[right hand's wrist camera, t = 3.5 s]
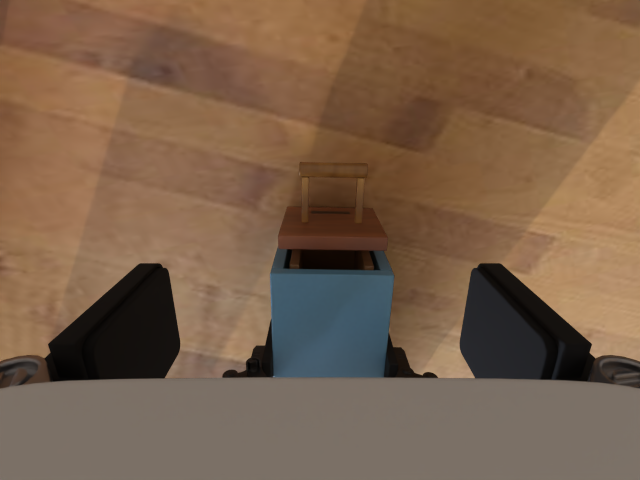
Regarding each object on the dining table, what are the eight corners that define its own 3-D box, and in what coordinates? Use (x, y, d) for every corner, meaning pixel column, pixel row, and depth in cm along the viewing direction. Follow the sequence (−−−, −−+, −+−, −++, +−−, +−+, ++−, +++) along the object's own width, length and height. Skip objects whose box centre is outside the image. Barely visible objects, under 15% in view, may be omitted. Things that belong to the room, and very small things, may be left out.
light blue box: (282, 229, 39) (269, 273, 29) (374, 231, 39) (394, 275, 29) (284, 334, 44) (274, 403, 34) (366, 335, 44) (381, 405, 34)
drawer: (286, 154, 35) (276, 169, 27) (376, 156, 35) (394, 171, 27) (288, 309, 42) (280, 360, 33) (365, 310, 42) (376, 361, 33)
